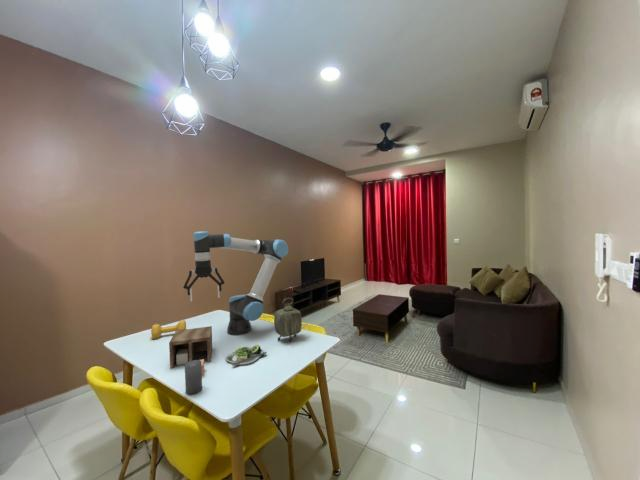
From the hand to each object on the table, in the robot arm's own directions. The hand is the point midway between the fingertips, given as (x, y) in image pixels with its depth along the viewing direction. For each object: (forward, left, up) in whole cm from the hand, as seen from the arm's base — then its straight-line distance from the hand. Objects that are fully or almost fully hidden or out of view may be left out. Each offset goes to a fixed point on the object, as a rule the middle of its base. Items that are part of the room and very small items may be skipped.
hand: (205, 299), depth 140 cm
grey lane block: (+10, +8, -28) cm, 31 cm away
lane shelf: (+6, +6, -28) cm, 30 cm away
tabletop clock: (-45, +3, -28) cm, 53 cm away
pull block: (+2, +31, -28) cm, 42 cm away
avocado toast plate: (-20, +15, -29) cm, 38 cm away
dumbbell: (+24, -32, -29) cm, 49 cm away
